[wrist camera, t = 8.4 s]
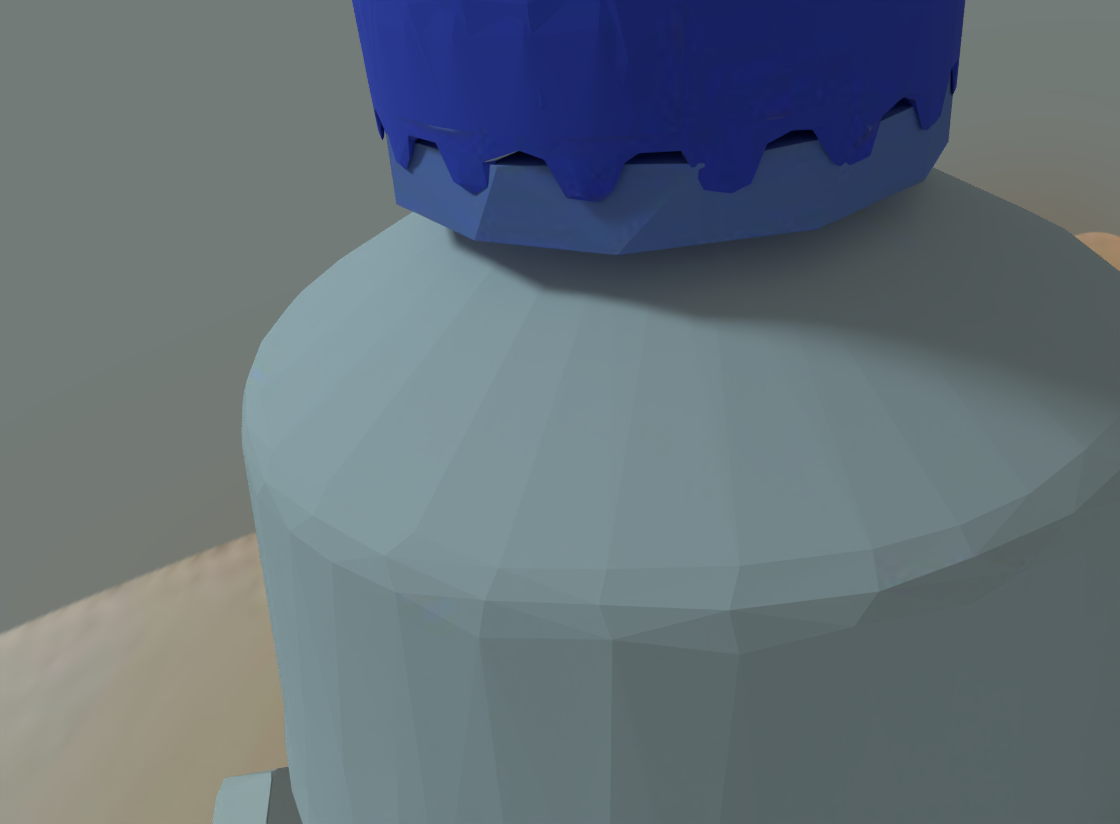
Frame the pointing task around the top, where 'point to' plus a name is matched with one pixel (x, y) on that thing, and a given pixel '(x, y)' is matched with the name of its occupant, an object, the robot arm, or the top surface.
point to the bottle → (691, 440)
